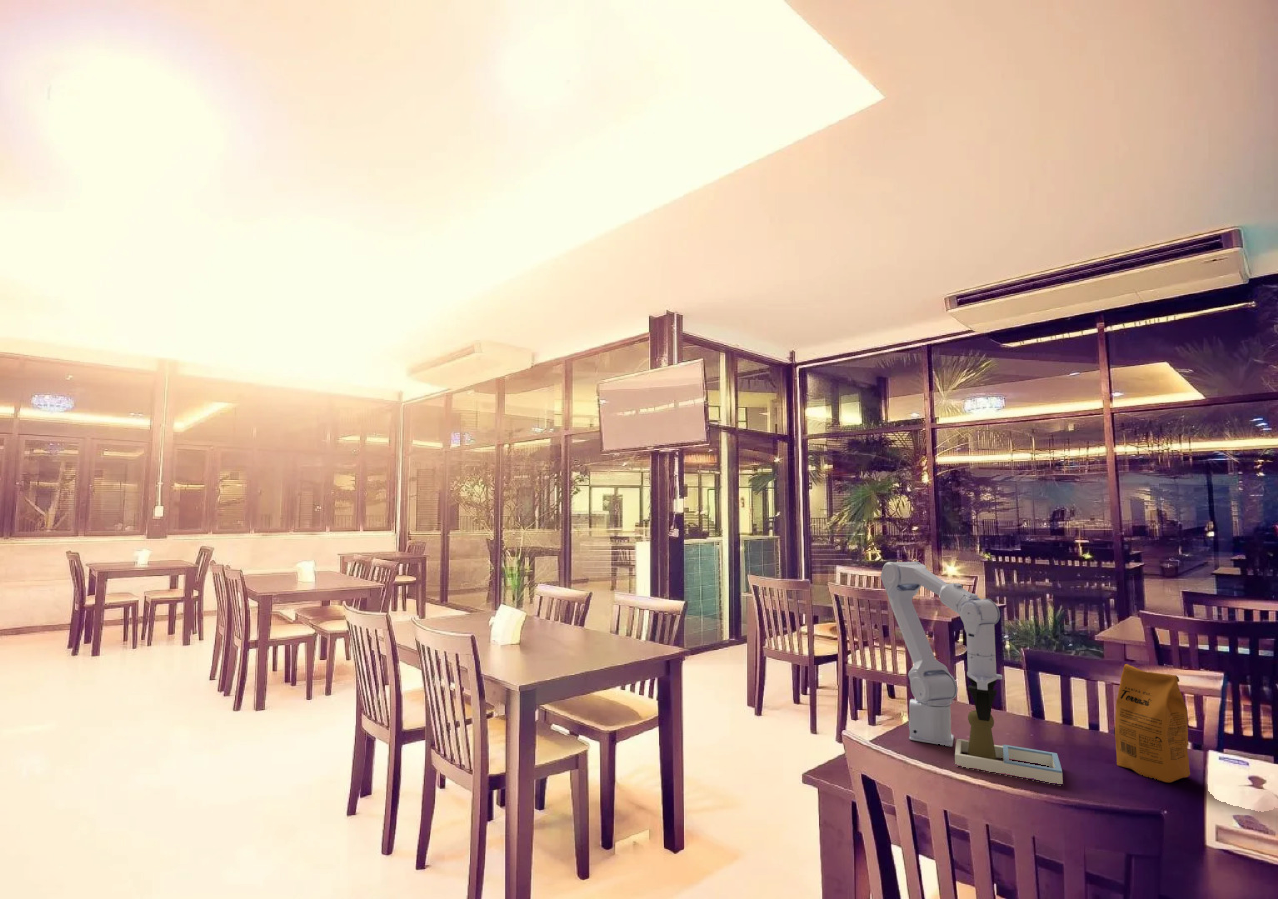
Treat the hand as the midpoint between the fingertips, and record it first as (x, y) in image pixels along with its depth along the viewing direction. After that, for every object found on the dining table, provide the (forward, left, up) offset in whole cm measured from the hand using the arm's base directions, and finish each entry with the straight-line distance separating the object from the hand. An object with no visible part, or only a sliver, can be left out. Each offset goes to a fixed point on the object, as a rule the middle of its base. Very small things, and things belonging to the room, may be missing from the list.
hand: (983, 715), depth 145 cm
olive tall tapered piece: (-1, 0, -11) cm, 11 cm away
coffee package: (+32, +13, -11) cm, 36 cm away
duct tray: (+4, 0, -10) cm, 11 cm away
